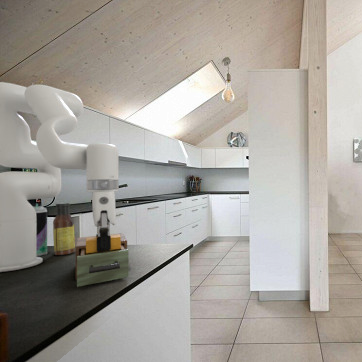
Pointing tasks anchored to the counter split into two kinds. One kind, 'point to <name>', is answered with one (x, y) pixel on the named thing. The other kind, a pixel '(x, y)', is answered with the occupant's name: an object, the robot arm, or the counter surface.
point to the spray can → (41, 229)
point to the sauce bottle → (63, 230)
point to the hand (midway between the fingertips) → (103, 248)
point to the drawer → (102, 266)
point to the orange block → (92, 243)
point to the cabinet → (82, 244)
